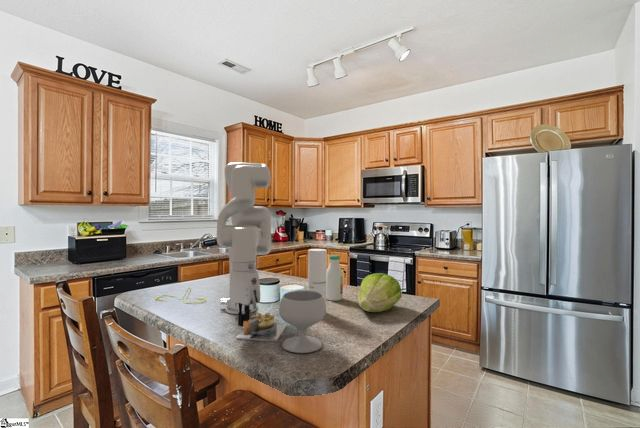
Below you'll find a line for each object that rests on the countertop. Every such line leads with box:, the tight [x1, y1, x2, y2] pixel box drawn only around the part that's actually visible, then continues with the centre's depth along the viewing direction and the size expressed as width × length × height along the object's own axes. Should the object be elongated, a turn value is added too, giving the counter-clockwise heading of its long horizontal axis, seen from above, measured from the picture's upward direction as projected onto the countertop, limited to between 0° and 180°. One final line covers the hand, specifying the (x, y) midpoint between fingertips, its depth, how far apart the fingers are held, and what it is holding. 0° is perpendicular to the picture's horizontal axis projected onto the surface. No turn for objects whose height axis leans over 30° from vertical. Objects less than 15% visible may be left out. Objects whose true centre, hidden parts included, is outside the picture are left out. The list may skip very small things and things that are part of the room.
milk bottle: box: [326, 254, 344, 302], centre depth 148 cm, size 8×8×20 cm
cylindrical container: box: [307, 248, 328, 305], centre depth 127 cm, size 7×7×25 cm
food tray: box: [242, 312, 275, 335], centre depth 103 cm, size 14×8×4 cm, turn 157°
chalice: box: [278, 290, 327, 354], centre depth 96 cm, size 14×14×15 cm
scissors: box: [155, 287, 207, 304], centre depth 146 cm, size 25×10×5 cm, turn 74°
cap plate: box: [235, 322, 287, 343], centre depth 106 cm, size 13×13×2 cm
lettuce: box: [357, 272, 402, 313], centre depth 130 cm, size 17×24×14 cm
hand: (243, 324), depth 100 cm, fingers closed
